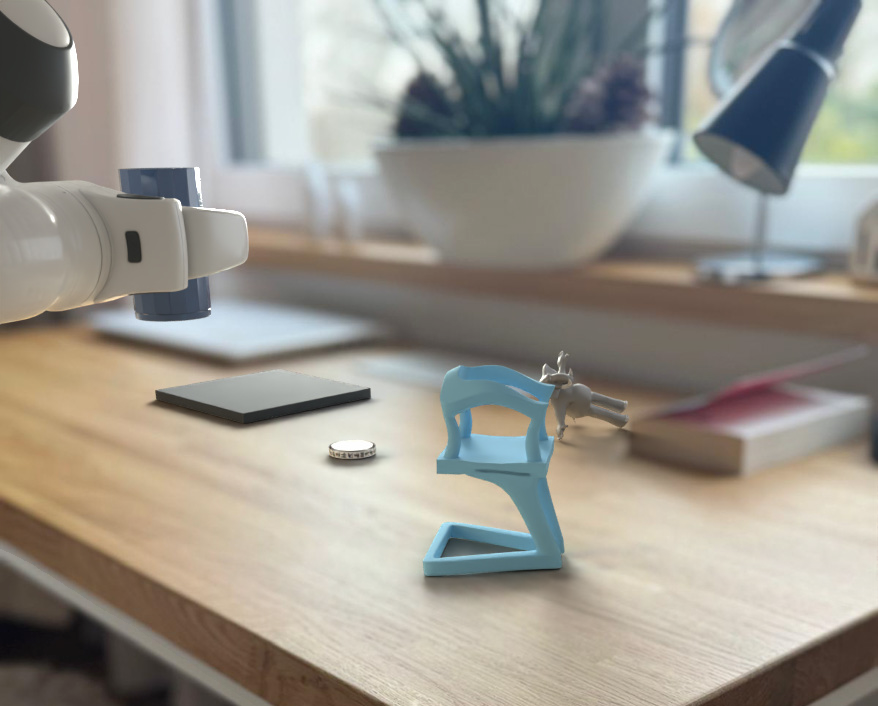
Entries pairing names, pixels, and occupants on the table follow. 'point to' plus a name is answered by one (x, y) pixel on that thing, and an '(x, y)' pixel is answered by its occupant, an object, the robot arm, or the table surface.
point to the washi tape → (352, 449)
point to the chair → (499, 472)
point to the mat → (262, 395)
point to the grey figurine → (579, 399)
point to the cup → (186, 190)
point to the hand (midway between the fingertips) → (171, 231)
